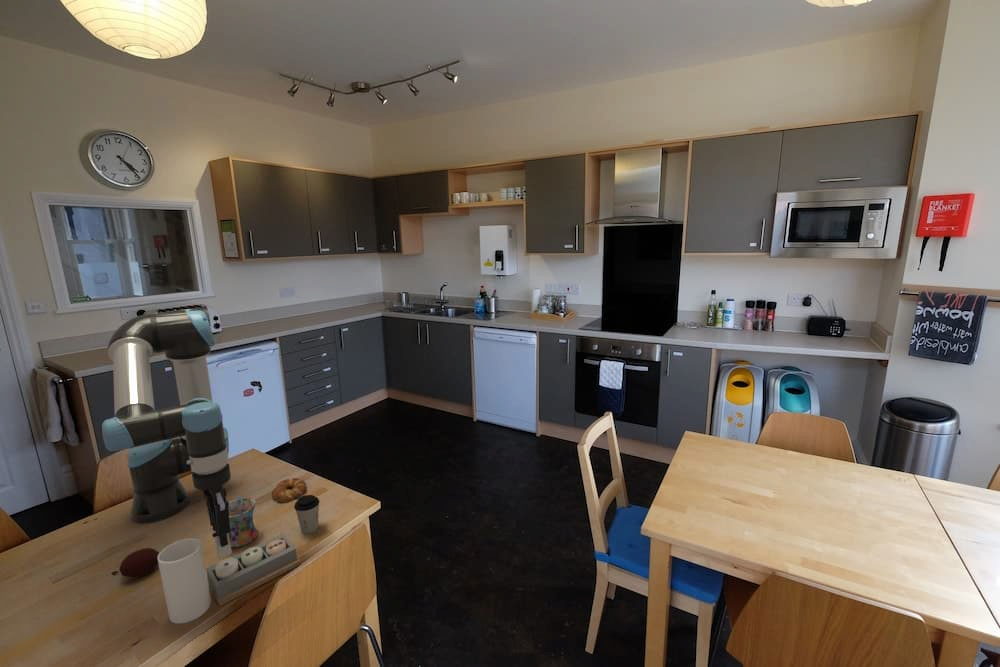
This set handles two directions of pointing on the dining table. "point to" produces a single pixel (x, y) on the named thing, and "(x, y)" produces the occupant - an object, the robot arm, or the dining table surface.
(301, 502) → the coffee cup
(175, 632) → the dining table surface
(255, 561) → the button
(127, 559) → the potato
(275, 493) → the bagel
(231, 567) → the button
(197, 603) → the cup
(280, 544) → the button
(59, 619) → the dining table surface
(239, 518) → the mug
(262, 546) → the console
